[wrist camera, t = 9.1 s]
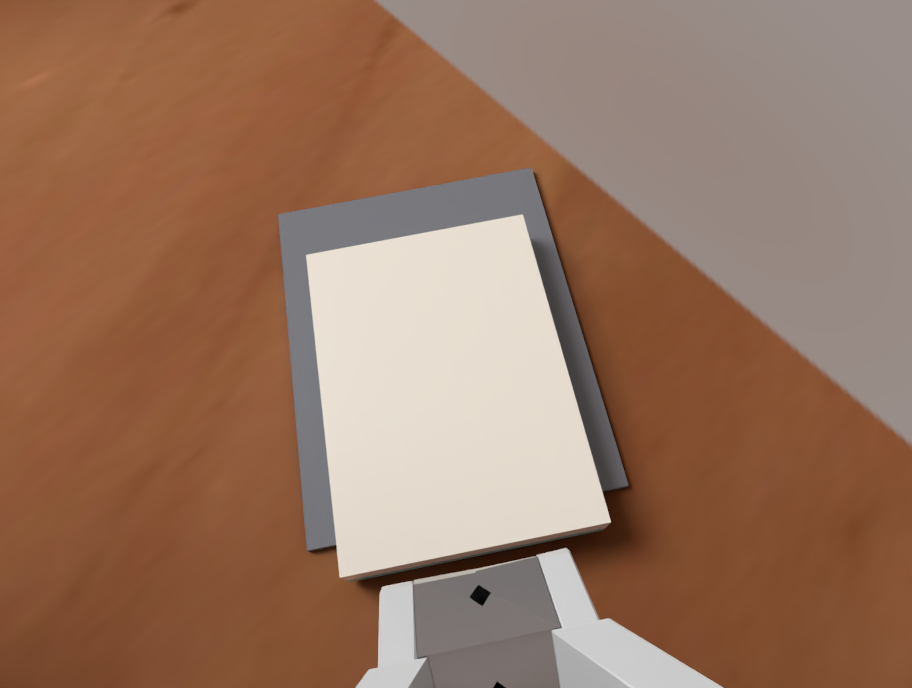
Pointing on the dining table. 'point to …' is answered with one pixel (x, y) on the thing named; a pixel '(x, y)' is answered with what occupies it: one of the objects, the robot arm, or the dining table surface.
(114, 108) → the dining table surface
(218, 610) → the dining table surface
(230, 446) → the dining table surface
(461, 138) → the dining table surface
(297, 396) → the mat
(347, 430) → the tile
